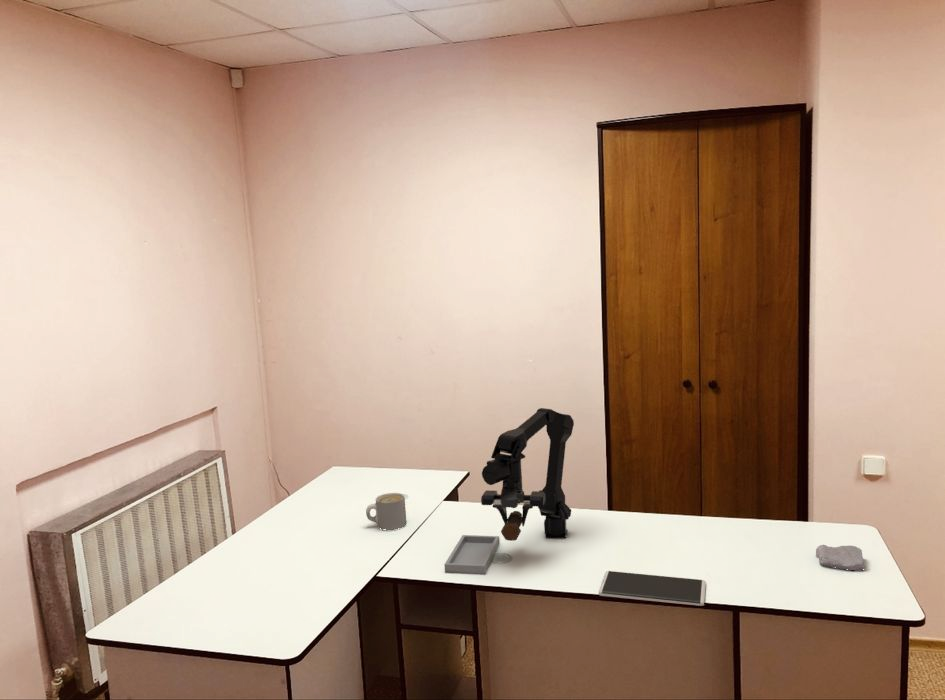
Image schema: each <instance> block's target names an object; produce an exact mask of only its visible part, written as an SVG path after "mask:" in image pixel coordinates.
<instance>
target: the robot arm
mask: <svg viewBox="0 0 945 700" xmlns="http://www.w3.org/2000/svg"><path fill="white" fill-rule="evenodd" d="M574 422H575V421H574V419H573V417H572V416H571V415H570V414H565V413H561V412H557V411H555V410H553V409H552V408H545V407H544V408H543V407H541V408H538V409H537V410H536V412H535V413H534V414H533V415H531V416H530V417H529V418H528V419H526V420H525V421H524V422H523V423H522V424H520V425H519V426H518V427H516V428H514V429H510V430H506V431H505V432H503V433H501V434H500V435H499V436H498V438H497V441H496V444H495V446H494V447H493V451H492V454H491V456H490V457H491V459H492V460H488V461H486V465H485V466H484V467H483V468H482V471H481V476H482V479H483V481H484V482H485V483H486V484H487V485H489V486H493V485H496V484H497V483H501V482H502V487H501V492H500V494H499V493H498V490H485V491H484V492H483V493H482V495H481V498H480V502H481V503H480V504H481V506H492V508H494V509H496V510H498V512H499V514H500V516H501V519H502V521H503V523H504V524H505V523H506V522H507V519H508V511H507V508H512V509H515V508H516V509H517V508H518V506H519V505H518V504H523V505H522V513H521V514H522V524H521V525H522V527H525V525H526V520H527V516H528V512H529V511H530V509H533V508H534V507H537V508H538V509H539V512H540V515H541V516H543V517H545V518H544V521H543V527H544V528H543V529H544V534H545V538H547V539H549V538H551V539H553V538H554V539H566V537H567V536H568V535H567V534H568V528H567V521H568V520H569V518H570V517H571V516H572V509H571V508H570V507H569V506H568V505H567V504H566V495H565V493H564V490H563V488H562V483H563V482H562V481H563V475H564V474H563V473H564V465H565V464H564V463H565V453H566V445H567V444H566V443H567V441H568V440H569V438H570V437H571V436H572V435H573V434H572V433H573V429H574V426H575V423H574ZM544 427H546V430H545V431H546V433H547V436H548V438H549V440H550V441H549V451H548V459H547V460H548V461H547V469H546V471H547V472H546V480H545V485H544V487H543V488H542V489H541V490H538V491H537V490H536V491H533V490H532V491H531V493H530V494H525V491H524V490H523V476H522V460H523V459H525V458H526V454H524V453H522V452H523V451H524V450H525V449H526V447H527V445H528V441H529V440H530V439H531V438H533V437H534V436H535V435H536V434H537V433H538V432H539V431H541V430H542V429H543V428H544Z"/></svg>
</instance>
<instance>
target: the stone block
mask: <svg viewBox="0 0 945 700" xmlns="http://www.w3.org/2000/svg"><path fill="white" fill-rule="evenodd" d="M816 556H817V557H818V558H819V560H818V561H819V563H818V564H819V565H820V566H821V565H824V566H823V567H825V566H830V567H829V568H831V567H836V568H835V569H837V568H841V569H840V570H842V569H848V570H847V571H849V570H863V569H866V565H865V561H864V557H863V550H862V549H861V548H860V547H858V546H856V545H839V546H835V547H833V546H828V545H826V544H820V545H818V546H816V549H815V557H816ZM817 557H816V558H817Z"/></svg>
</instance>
